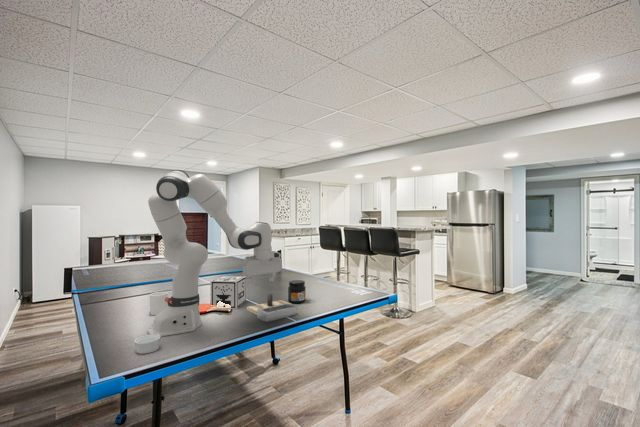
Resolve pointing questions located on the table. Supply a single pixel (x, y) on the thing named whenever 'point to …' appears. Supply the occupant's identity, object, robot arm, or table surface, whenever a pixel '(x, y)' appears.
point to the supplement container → (296, 292)
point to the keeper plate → (266, 304)
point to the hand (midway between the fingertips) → (263, 282)
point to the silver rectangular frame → (276, 312)
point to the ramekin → (147, 343)
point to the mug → (157, 302)
